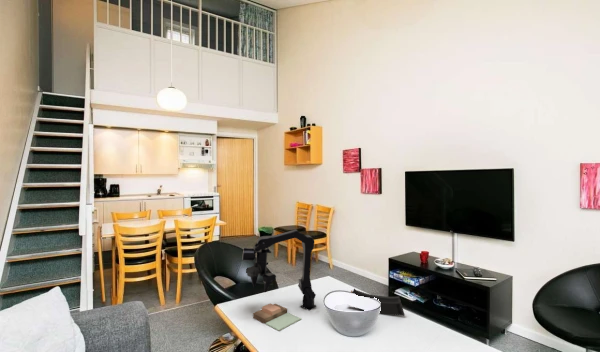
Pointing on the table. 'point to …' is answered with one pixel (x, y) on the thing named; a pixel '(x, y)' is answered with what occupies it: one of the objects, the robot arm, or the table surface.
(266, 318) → the walnut stand
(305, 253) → the robot arm
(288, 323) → the green mat
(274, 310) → the terracotta tile
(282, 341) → the table surface
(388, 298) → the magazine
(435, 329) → the table surface
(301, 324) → the table surface
